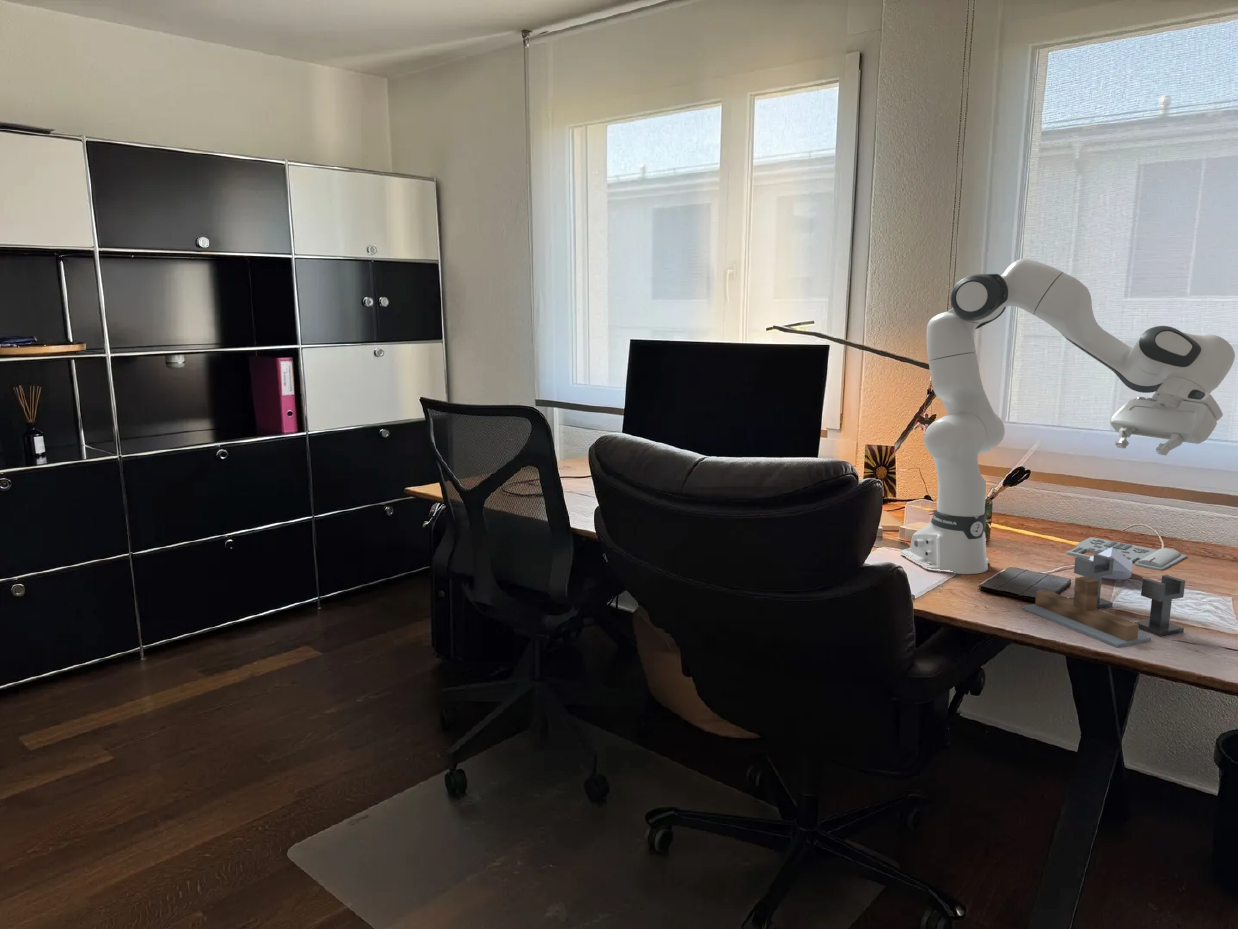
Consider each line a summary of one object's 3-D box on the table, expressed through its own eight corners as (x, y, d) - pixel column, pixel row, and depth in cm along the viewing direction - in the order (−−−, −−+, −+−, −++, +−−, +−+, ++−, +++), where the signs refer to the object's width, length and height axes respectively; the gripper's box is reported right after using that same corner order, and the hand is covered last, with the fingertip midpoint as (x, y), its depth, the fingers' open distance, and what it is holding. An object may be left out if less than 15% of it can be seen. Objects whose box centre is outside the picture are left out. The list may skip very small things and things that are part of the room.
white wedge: (1130, 586, 197) (1131, 571, 208) (1133, 558, 195) (1133, 544, 206) (1086, 580, 201) (1089, 566, 212) (1089, 553, 200) (1091, 540, 211)
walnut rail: (1035, 604, 184) (1038, 565, 182) (1045, 603, 185) (1048, 563, 183) (1126, 641, 163) (1130, 596, 162) (1137, 638, 164) (1141, 594, 163)
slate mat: (1022, 608, 183) (1022, 606, 183) (1054, 603, 186) (1054, 600, 186) (1116, 647, 162) (1117, 644, 162) (1151, 640, 165) (1151, 637, 165)
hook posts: (1067, 602, 187) (1071, 556, 185) (1089, 598, 189) (1093, 552, 187) (1160, 637, 167) (1166, 586, 165) (1184, 632, 169) (1190, 582, 167)
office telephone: (1188, 550, 218) (1162, 566, 205) (1186, 559, 219) (1161, 576, 206) (1091, 532, 235) (1061, 546, 222) (1090, 541, 236) (1060, 555, 223)
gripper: (1126, 387, 188) (1089, 433, 187) (1218, 395, 169) (1178, 446, 168) (1139, 406, 191) (1103, 451, 189) (1231, 416, 172) (1192, 467, 170)
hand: (1139, 449), depth 178 cm, fingers open, 8 cm apart
